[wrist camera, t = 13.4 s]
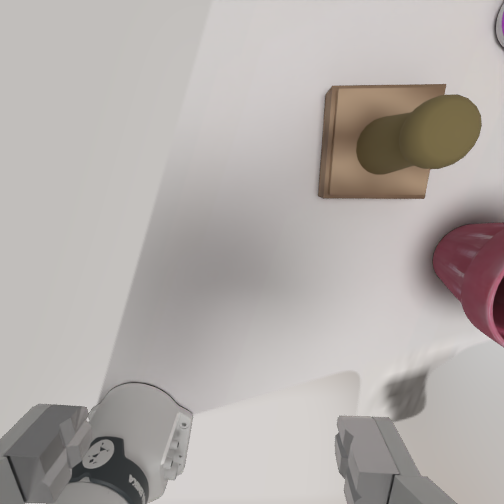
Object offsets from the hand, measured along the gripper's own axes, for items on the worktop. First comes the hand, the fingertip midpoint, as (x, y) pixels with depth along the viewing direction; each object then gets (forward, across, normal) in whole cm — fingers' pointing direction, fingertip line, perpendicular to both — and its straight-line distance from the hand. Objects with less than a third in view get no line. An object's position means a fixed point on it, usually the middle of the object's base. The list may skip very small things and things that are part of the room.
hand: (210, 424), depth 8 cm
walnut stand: (+29, +15, +11) cm, 34 cm away
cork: (+25, +15, +11) cm, 31 cm away
